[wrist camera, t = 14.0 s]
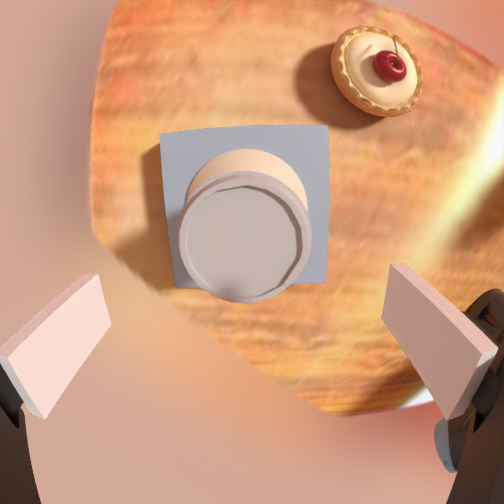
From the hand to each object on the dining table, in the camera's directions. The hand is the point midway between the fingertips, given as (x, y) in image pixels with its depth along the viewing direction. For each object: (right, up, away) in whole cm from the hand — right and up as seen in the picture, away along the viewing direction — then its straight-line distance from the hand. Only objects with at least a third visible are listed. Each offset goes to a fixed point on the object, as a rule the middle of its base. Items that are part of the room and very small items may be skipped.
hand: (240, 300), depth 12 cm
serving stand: (0, +8, +22) cm, 24 cm away
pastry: (+15, +24, +17) cm, 33 cm away
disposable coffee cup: (0, +6, +18) cm, 19 cm away
